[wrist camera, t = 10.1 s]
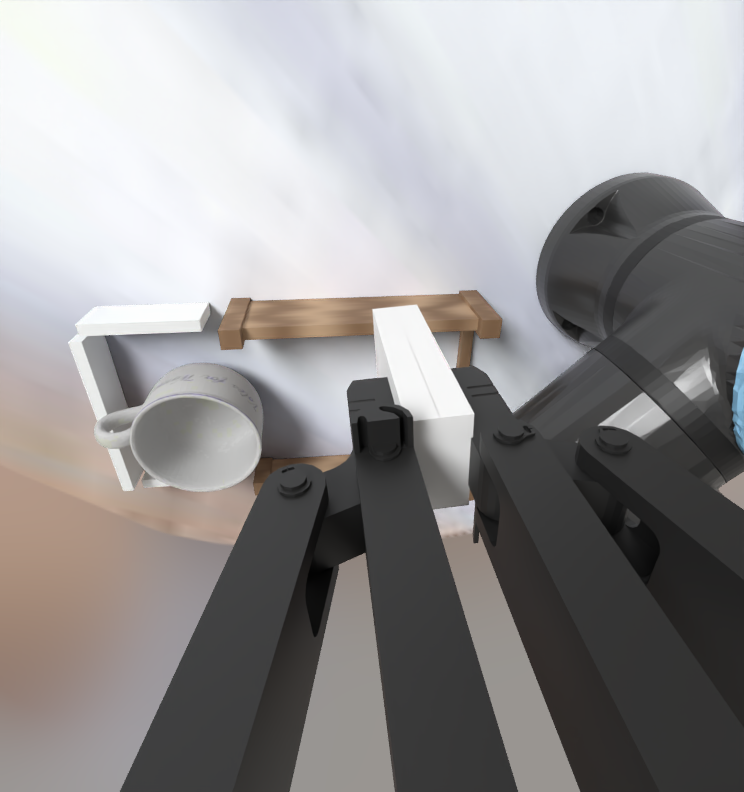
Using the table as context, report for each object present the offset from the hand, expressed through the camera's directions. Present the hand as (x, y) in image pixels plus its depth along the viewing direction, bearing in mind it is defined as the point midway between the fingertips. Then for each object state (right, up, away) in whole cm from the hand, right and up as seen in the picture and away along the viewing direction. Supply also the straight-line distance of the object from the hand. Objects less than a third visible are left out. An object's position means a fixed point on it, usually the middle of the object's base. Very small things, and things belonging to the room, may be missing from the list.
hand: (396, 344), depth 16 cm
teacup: (-18, -2, +30) cm, 35 cm away
